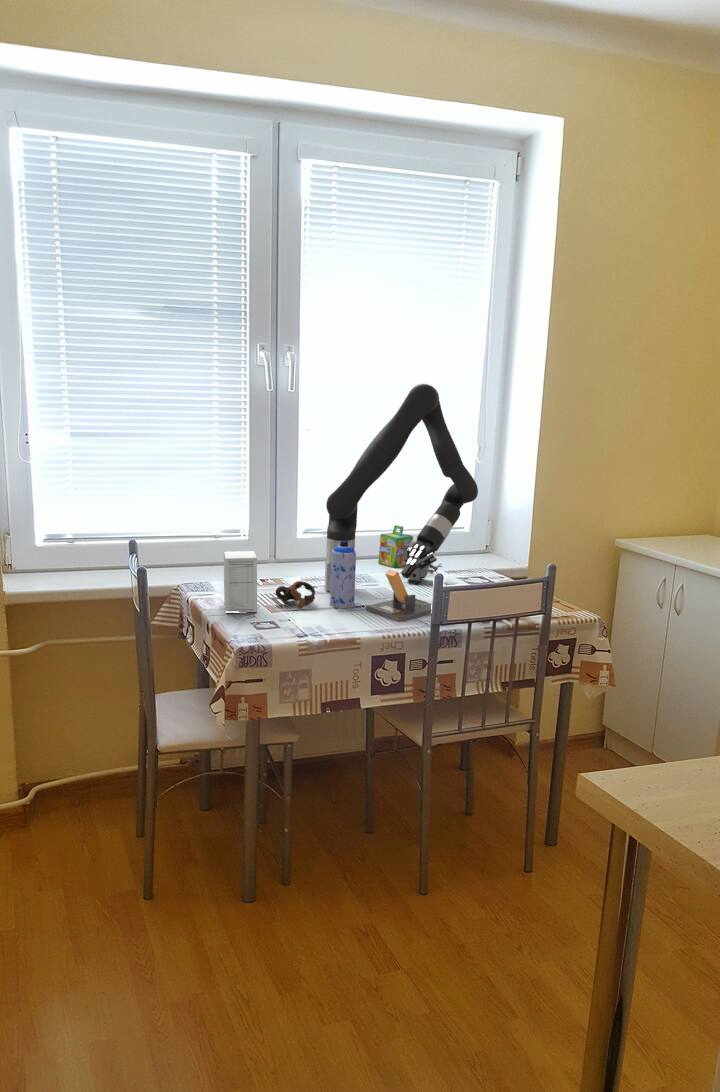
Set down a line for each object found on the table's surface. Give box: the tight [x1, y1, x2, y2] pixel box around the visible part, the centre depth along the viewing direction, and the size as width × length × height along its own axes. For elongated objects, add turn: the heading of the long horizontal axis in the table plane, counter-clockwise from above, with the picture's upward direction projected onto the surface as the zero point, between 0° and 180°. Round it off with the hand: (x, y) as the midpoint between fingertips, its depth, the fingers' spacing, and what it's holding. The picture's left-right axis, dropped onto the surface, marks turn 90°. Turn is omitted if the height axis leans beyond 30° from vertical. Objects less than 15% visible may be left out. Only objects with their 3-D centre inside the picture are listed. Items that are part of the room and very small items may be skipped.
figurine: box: [407, 539, 443, 585], centre depth 278 cm, size 9×12×15 cm
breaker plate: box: [365, 593, 432, 622], centre depth 243 cm, size 18×14×6 cm
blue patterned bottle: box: [329, 541, 357, 609], centre depth 246 cm, size 8×8×20 cm
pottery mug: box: [275, 580, 316, 610], centre depth 245 cm, size 12×10×8 cm
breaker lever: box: [384, 569, 409, 605], centre depth 241 cm, size 2×4×12 cm
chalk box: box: [378, 524, 414, 569], centre depth 303 cm, size 9×9×15 cm
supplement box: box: [223, 550, 258, 613], centre depth 237 cm, size 10×9×17 cm
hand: (404, 576), depth 241 cm, fingers closed
